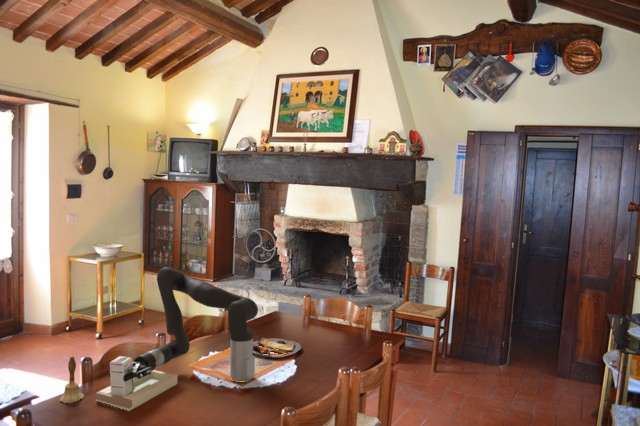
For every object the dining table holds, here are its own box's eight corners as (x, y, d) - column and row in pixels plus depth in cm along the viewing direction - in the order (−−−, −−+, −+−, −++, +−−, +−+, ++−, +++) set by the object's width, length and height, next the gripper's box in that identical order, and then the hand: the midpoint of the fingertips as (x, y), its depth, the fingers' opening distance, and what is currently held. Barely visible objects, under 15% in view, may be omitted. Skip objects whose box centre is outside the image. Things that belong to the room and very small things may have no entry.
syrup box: (124, 401, 183) (124, 362, 182) (110, 399, 185) (109, 361, 183) (133, 394, 189) (133, 357, 188) (119, 392, 190) (118, 355, 189)
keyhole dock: (146, 376, 209) (146, 368, 209) (177, 383, 203) (177, 375, 203) (96, 401, 186) (95, 392, 186) (128, 411, 179) (128, 401, 179)
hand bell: (79, 391, 194) (78, 351, 193) (87, 399, 188) (87, 357, 187) (56, 398, 188) (55, 356, 187) (63, 406, 182) (63, 363, 181)
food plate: (239, 354, 237) (239, 346, 237) (262, 339, 258) (263, 333, 258) (287, 364, 228) (287, 356, 227) (307, 348, 249) (307, 341, 249)
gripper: (135, 349, 202) (102, 363, 186) (163, 355, 196) (131, 370, 181) (135, 367, 202) (102, 383, 187) (164, 373, 196) (132, 390, 181)
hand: (117, 377), depth 184 cm, fingers closed on syrup box, 6 cm apart
